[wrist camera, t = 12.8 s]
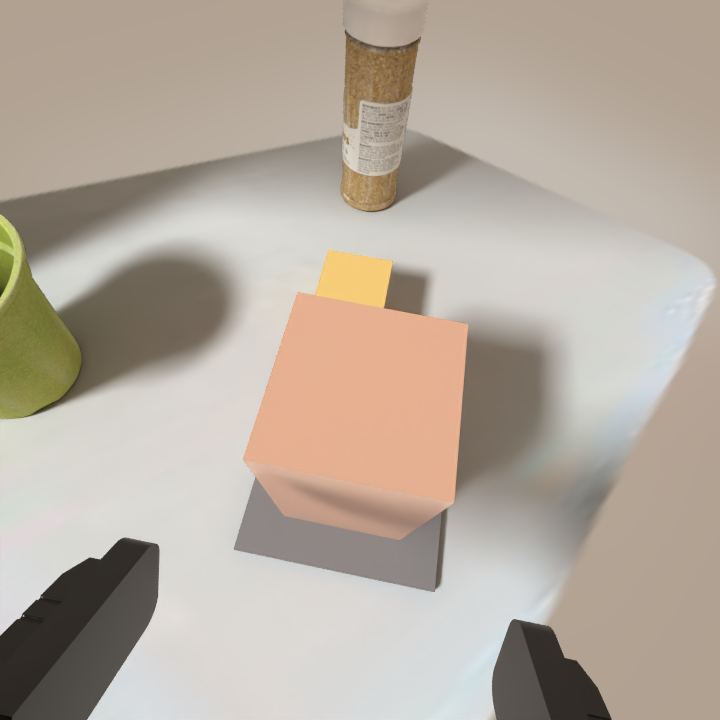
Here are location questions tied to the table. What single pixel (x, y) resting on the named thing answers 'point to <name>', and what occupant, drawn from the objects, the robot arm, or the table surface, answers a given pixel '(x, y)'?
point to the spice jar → (377, 95)
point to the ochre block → (355, 278)
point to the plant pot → (30, 336)
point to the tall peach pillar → (361, 417)
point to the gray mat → (340, 545)
